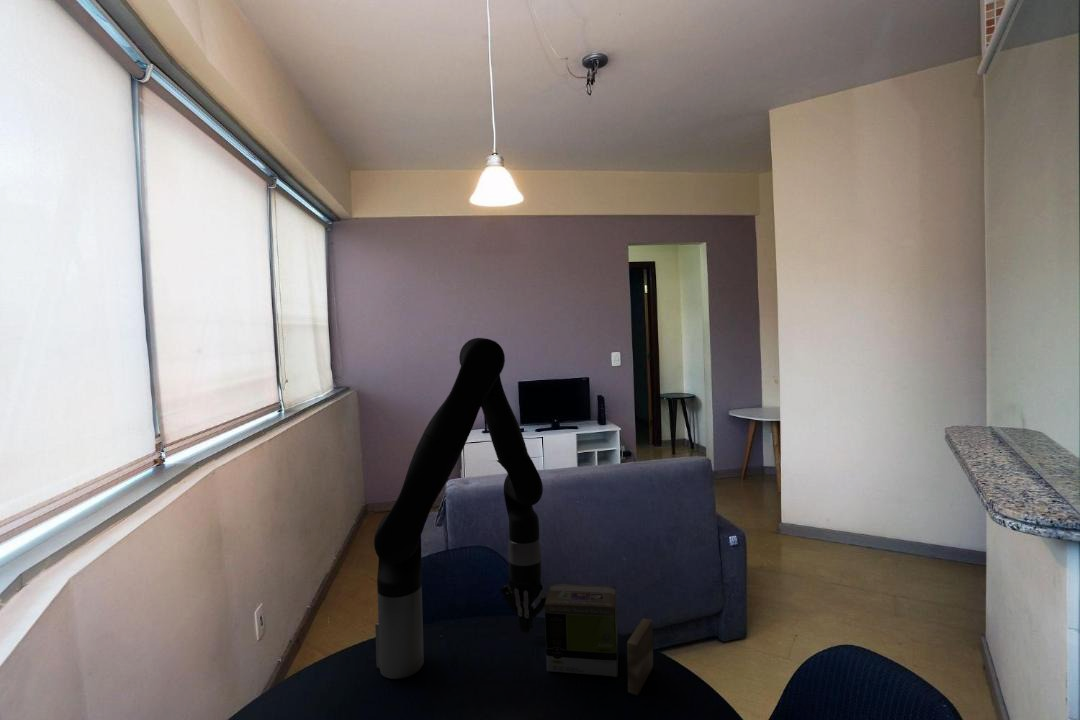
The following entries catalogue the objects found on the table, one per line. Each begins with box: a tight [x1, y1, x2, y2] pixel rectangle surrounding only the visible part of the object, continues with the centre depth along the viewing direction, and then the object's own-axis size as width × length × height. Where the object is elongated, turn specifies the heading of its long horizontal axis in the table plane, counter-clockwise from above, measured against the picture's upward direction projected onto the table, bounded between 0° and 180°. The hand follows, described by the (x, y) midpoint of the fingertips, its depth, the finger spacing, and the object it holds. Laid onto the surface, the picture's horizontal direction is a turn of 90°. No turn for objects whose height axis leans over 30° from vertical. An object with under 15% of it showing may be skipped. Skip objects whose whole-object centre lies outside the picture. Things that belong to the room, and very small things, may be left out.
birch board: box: [626, 618, 654, 696], centre depth 102 cm, size 2×10×10 cm, turn 150°
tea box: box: [544, 583, 619, 678], centre depth 109 cm, size 15×10×15 cm
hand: (526, 631), depth 116 cm, fingers closed
